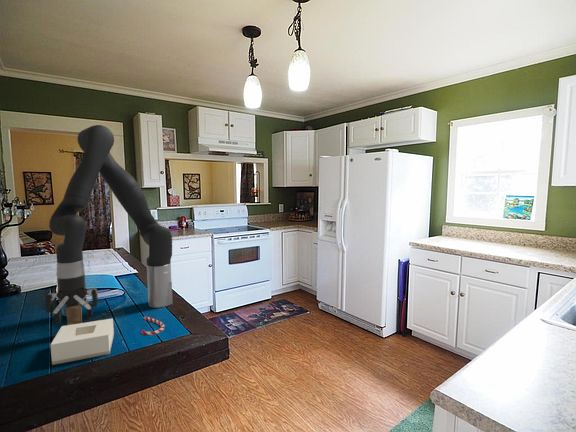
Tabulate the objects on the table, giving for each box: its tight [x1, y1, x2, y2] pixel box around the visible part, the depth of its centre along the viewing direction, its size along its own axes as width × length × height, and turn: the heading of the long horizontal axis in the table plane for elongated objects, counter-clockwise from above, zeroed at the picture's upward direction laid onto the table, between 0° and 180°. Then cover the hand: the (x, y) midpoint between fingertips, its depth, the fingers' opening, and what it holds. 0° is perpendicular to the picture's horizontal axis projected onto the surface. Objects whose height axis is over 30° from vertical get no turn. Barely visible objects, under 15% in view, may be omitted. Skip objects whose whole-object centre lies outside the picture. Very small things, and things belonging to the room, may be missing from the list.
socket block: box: [50, 318, 115, 366], centre depth 94 cm, size 14×12×6 cm
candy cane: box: [141, 316, 165, 336], centre depth 110 cm, size 8×1×15 cm
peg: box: [66, 303, 83, 325], centre depth 104 cm, size 4×4×10 cm
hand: (74, 321), depth 104 cm, fingers open, 8 cm apart
